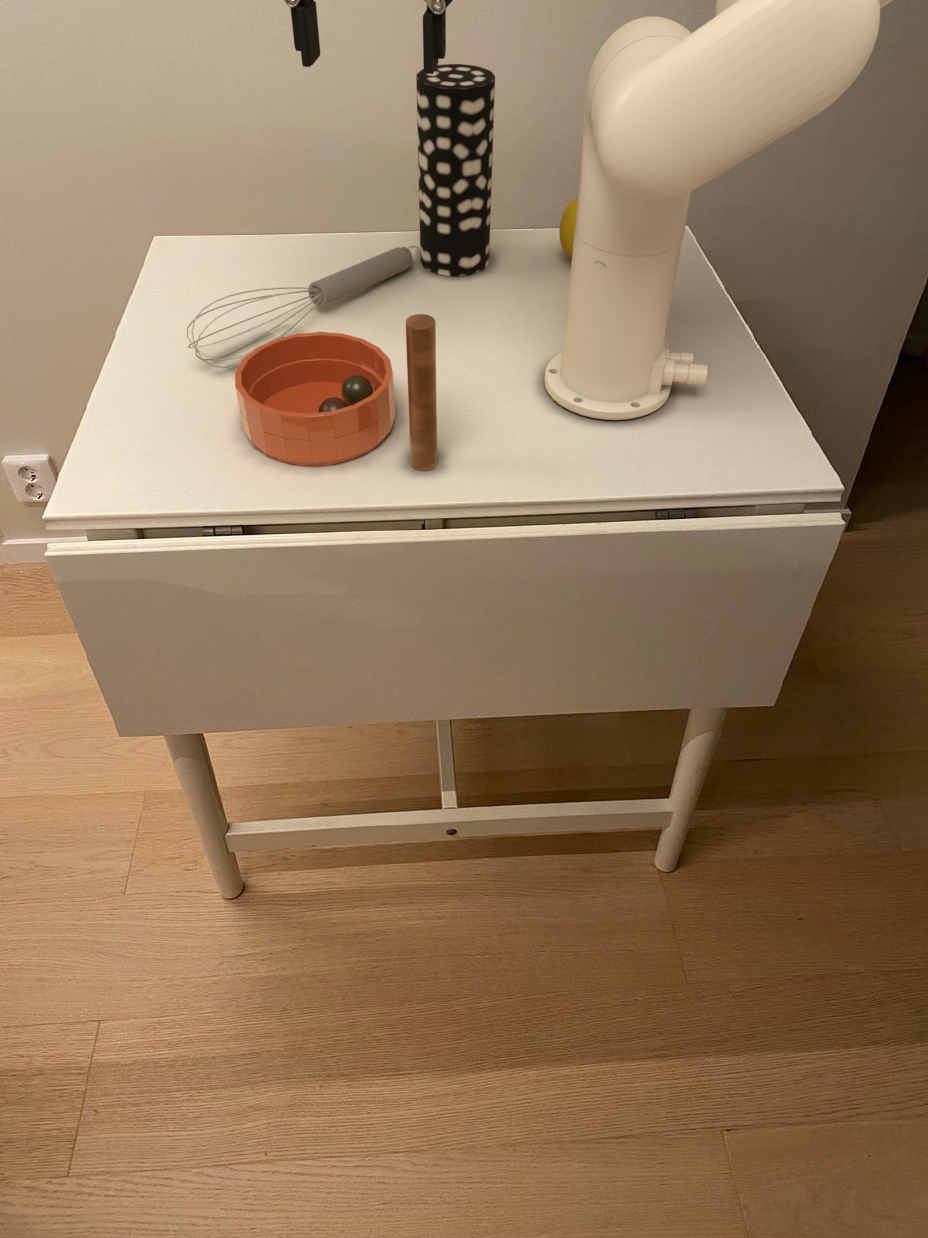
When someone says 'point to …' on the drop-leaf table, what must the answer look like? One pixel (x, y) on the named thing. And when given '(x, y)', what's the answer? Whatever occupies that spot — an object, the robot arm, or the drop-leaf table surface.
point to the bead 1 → (332, 404)
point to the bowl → (314, 398)
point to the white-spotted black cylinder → (455, 167)
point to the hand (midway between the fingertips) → (371, 64)
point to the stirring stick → (422, 390)
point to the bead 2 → (356, 389)
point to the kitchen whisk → (322, 291)
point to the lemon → (568, 226)
